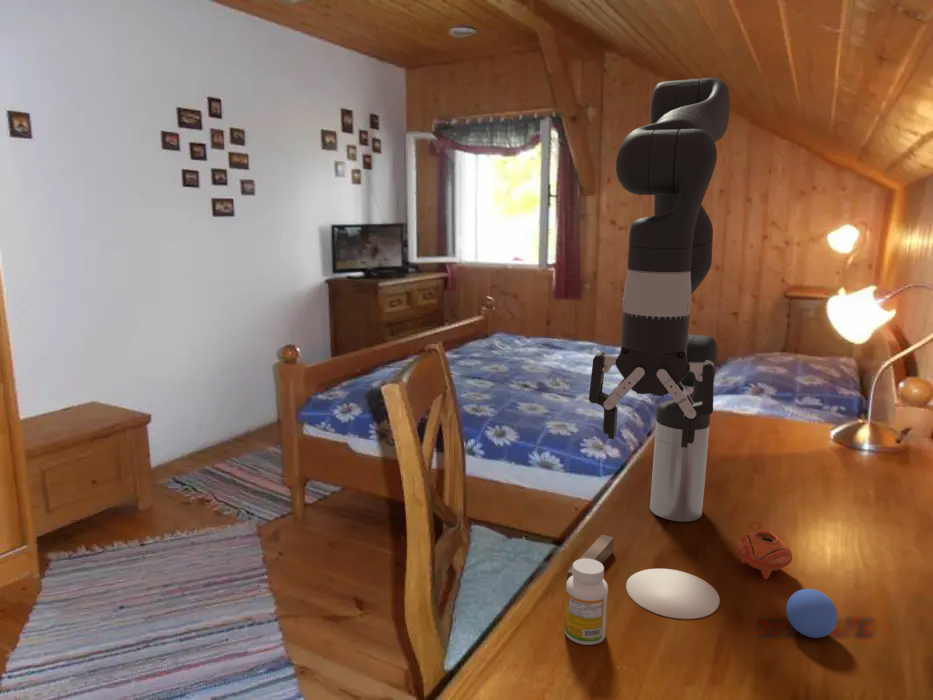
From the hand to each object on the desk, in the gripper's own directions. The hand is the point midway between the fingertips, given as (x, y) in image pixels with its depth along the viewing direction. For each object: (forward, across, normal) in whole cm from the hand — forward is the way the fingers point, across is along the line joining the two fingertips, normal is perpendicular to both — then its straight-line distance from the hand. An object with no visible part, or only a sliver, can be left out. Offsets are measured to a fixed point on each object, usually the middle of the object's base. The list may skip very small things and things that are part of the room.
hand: (647, 441), depth 83 cm
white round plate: (+27, -4, -13) cm, 30 cm away
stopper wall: (+27, +8, -16) cm, 32 cm away
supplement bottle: (+27, +6, +1) cm, 28 cm away
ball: (+24, -22, -10) cm, 34 cm away
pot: (+28, -17, -25) cm, 41 cm away
